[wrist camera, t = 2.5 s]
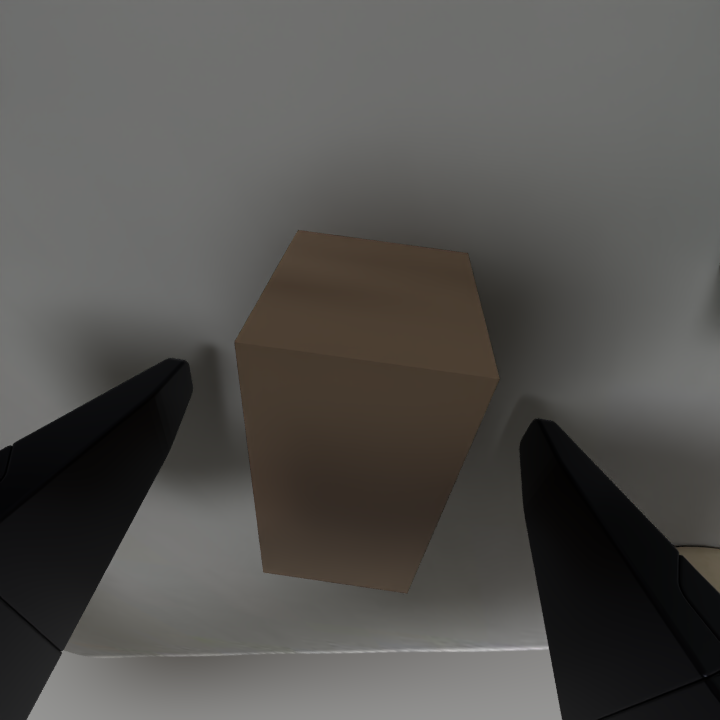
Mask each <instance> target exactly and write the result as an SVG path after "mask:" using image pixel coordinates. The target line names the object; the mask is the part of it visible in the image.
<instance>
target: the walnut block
mask: <svg viewBox="0 0 720 720" xmlns="http://www.w3.org/2000/svg"><path fill="white" fill-rule="evenodd" d="M235 350H236V358H237V366H238V374H239V382H240V390H241V398H242V406H243V414H244V422H245V430H246V438H247V446H248V454H249V462H250V470H251V478H252V486H253V494H254V502H255V510H256V518H257V526H258V534H259V542H260V550H261V558H262V566H263V572H264V573H271V574H278V575H285V576H291V577H298V578H305V579H312V580H319V581H325V582H332V583H339V584H346V585H353V586H360V587H366V588H373V589H380V590H387V591H394V592H400V593H408V591H409V588H410V586H411V584H412V581H413V579H414V577H415V574H416V572H417V570H418V567H419V565H420V563H421V560H422V558H423V556H424V553H425V551H426V549H427V547H428V544H429V542H430V540H431V537H432V535H433V533H434V530H435V528H436V526H437V523H438V521H439V519H440V516H441V514H442V512H443V509H444V507H445V505H446V502H447V500H448V498H449V495H450V493H451V491H452V489H453V486H454V484H455V482H456V479H457V477H458V475H459V472H460V470H461V468H462V465H463V463H464V461H465V458H466V456H467V454H468V451H469V449H470V447H471V444H472V442H473V440H474V437H475V435H476V433H477V431H478V428H479V426H480V424H481V421H482V419H483V417H484V414H485V412H486V410H487V407H488V405H489V403H490V400H491V398H492V396H493V393H494V391H495V389H496V386H497V384H498V382H499V380H500V378H499V374H498V370H497V366H496V362H495V358H494V354H493V350H492V347H491V343H490V339H489V335H488V331H487V327H486V323H485V319H484V315H483V311H482V307H481V303H480V299H479V295H478V291H477V287H476V283H475V279H474V275H473V271H472V267H471V263H470V260H469V256H468V253H463V252H456V251H449V250H441V249H434V248H426V247H419V246H412V245H404V244H397V243H389V242H382V241H375V240H367V239H360V238H352V237H345V236H338V235H330V234H323V233H316V232H308V231H301V230H298V231H297V233H296V235H295V236H294V238H293V240H292V242H291V243H290V245H289V247H288V249H287V250H286V252H285V254H284V256H283V257H282V259H281V261H280V263H279V265H278V266H277V268H276V270H275V272H274V273H273V275H272V277H271V279H270V280H269V282H268V284H267V286H266V287H265V289H264V291H263V293H262V294H261V296H260V298H259V300H258V301H257V303H256V305H255V307H254V309H253V310H252V312H251V314H250V316H249V317H248V319H247V321H246V323H245V324H244V326H243V328H242V330H241V331H240V333H239V335H238V337H237V338H236V340H235Z"/></svg>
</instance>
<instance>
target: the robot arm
mask: <svg viewBox="0 0 720 720" xmlns="http://www.w3.org/2000/svg"><path fill="white" fill-rule="evenodd" d="M192 391H193V384H192V379H191V373H190V368H189V364H188V362H187V361H185V360H181V359H175V358H168V359H166V360H164V361H162V362H160V363H158V364H157V365H155V366H153V367H151V368H149V369H147V370H146V371H144V372H142V373H140V374H138V375H137V376H135V377H133V378H131V379H129V380H127V381H126V382H124V383H122V384H120V385H118V386H117V387H115V388H113V389H111V390H109V391H107V392H106V393H104V394H102V395H100V396H98V397H97V398H95V399H93V400H91V401H89V402H87V403H86V404H84V405H82V406H80V407H78V408H77V409H75V410H73V411H71V412H69V413H67V414H66V415H64V416H62V417H60V418H58V419H57V420H55V421H53V422H51V423H49V424H47V425H46V426H44V427H42V428H40V429H38V430H37V431H35V432H33V433H31V434H29V435H27V436H26V437H24V438H22V439H20V440H18V441H17V442H15V443H14V444H13V446H11V445H10V446H7V447H5V448H4V449H2V450H0V720H27V718H28V716H29V714H30V712H31V710H32V709H33V707H34V705H35V703H36V701H37V699H38V697H39V695H40V694H41V692H42V690H43V688H44V686H45V684H46V682H47V680H48V679H49V677H50V675H51V673H52V671H53V669H54V667H55V665H56V664H57V662H58V660H59V658H60V656H61V654H62V652H61V651H63V650H64V648H65V646H66V644H67V642H68V641H69V639H70V637H71V635H72V633H73V631H74V629H75V627H76V626H77V624H78V622H79V620H80V618H81V616H82V614H83V612H84V611H85V609H86V607H87V605H88V603H89V601H90V599H91V597H92V596H93V594H94V592H95V590H96V588H97V586H98V584H99V583H100V581H101V579H102V577H103V575H104V573H105V571H106V569H107V568H108V566H109V564H110V562H111V560H112V558H113V556H114V554H115V553H116V551H117V549H118V547H119V545H120V543H121V541H122V539H123V538H124V536H125V534H126V532H127V530H128V528H129V526H130V524H131V523H132V521H133V519H134V517H135V515H136V513H137V511H138V509H139V508H140V506H141V504H142V502H143V500H144V498H145V496H146V495H147V493H148V491H149V489H150V487H151V485H152V483H153V481H154V480H155V478H156V476H157V474H158V472H159V470H160V468H161V466H162V465H163V463H164V461H165V459H166V457H167V455H168V453H169V451H170V449H171V446H172V444H173V441H174V439H175V436H176V434H177V431H178V429H179V426H180V423H181V421H182V418H183V416H184V413H185V411H186V408H187V406H188V403H189V400H190V398H191V395H192ZM519 451H520V466H521V481H522V496H523V508H524V514H525V520H526V526H527V531H528V537H529V542H530V548H531V553H532V558H533V564H534V569H535V575H536V580H537V586H538V591H539V596H540V602H541V607H542V613H543V618H544V624H545V629H546V635H547V640H548V645H549V650H550V656H551V662H552V667H553V672H554V678H555V683H556V689H557V694H558V700H559V705H560V711H561V716H562V720H720V593H719V592H718V591H717V590H716V589H715V588H714V587H713V586H712V585H711V584H710V583H709V582H708V581H707V580H706V579H705V578H704V577H703V576H702V575H701V574H700V573H699V572H698V571H697V570H696V569H695V568H694V566H693V565H692V564H691V563H690V562H689V561H688V560H687V559H686V558H685V557H684V556H683V555H679V551H678V550H677V549H676V548H675V547H674V546H673V545H672V544H671V543H670V542H669V541H668V540H667V539H666V537H665V536H664V535H663V534H662V533H661V532H660V531H659V530H658V529H657V528H656V527H655V526H654V525H653V524H652V523H651V522H650V521H649V520H648V519H647V518H646V517H645V516H644V515H643V514H642V512H641V511H640V510H639V509H638V508H637V507H636V506H635V505H634V504H633V503H632V502H631V501H630V500H629V499H628V498H627V497H626V496H625V495H624V494H623V493H622V492H621V491H620V490H619V489H618V487H617V486H616V485H615V484H614V483H613V482H612V481H611V480H610V479H609V478H608V477H607V476H606V475H605V474H604V473H603V472H602V471H601V470H600V469H599V468H598V467H597V466H596V465H595V464H594V462H593V461H592V460H591V459H590V458H589V457H588V456H587V455H586V454H585V453H584V452H583V451H582V450H581V449H580V448H579V447H578V446H577V445H576V444H575V443H574V442H573V441H572V440H571V438H570V437H569V436H568V435H567V434H566V433H565V432H564V431H563V430H562V429H561V428H560V427H559V426H558V425H557V424H556V423H555V422H553V421H551V420H545V419H539V418H537V419H534V420H533V421H532V423H531V424H530V426H529V428H528V429H527V431H526V433H525V434H524V436H523V438H522V439H521V442H520V448H519Z"/></svg>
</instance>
